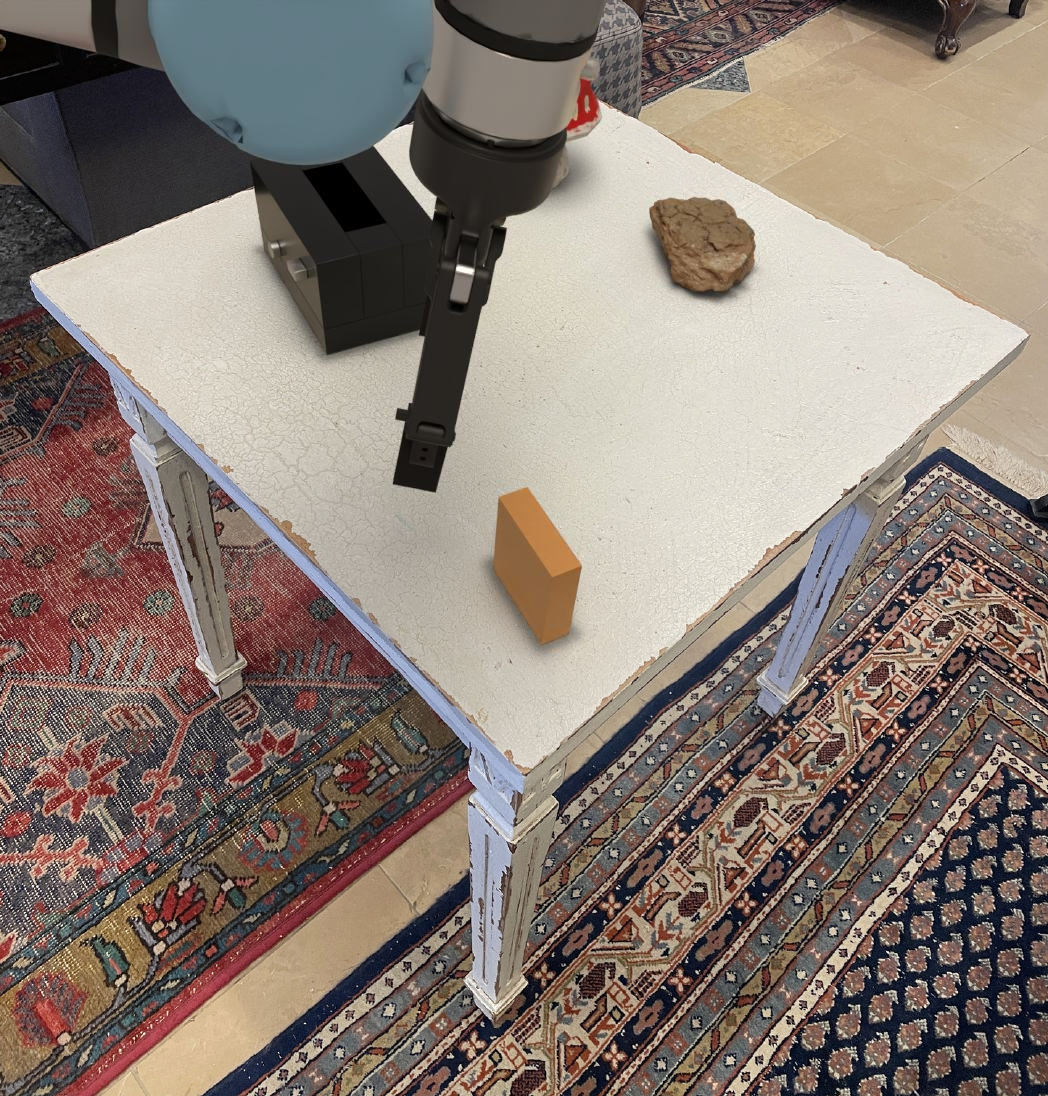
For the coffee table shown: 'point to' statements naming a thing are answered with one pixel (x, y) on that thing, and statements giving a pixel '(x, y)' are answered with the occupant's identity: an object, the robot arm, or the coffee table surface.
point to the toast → (535, 565)
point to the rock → (704, 242)
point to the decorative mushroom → (579, 124)
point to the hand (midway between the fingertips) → (427, 405)
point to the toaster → (346, 246)
